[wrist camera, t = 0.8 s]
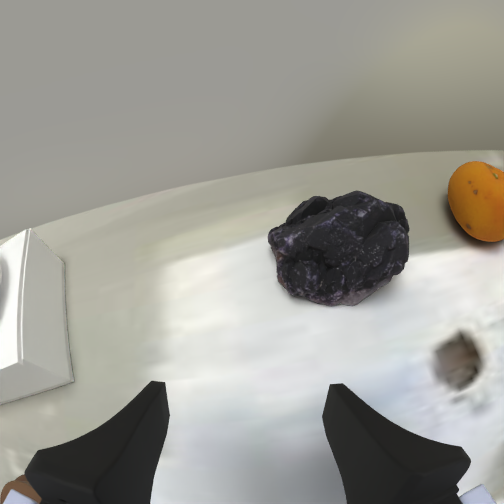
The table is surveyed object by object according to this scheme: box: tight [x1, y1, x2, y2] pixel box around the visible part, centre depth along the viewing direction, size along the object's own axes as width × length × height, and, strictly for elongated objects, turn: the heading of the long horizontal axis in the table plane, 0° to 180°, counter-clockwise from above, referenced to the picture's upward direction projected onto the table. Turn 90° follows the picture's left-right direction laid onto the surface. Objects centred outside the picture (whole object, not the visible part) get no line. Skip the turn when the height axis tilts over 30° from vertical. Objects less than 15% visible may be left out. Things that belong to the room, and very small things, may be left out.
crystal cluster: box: [268, 191, 409, 306], centre depth 28 cm, size 13×14×10 cm
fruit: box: [448, 161, 504, 242], centre depth 28 cm, size 10×10×8 cm
